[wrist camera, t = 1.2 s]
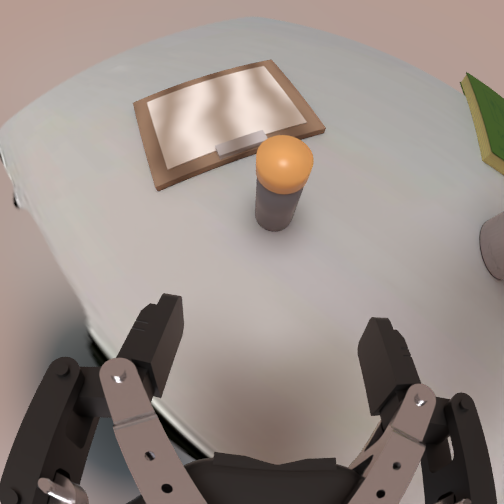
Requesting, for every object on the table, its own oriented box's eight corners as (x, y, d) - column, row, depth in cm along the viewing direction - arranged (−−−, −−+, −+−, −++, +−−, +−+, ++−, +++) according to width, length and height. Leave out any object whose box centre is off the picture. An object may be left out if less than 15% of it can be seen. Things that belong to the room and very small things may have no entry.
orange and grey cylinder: (282, 191, 31) (297, 129, 20) (299, 223, 30) (323, 171, 19) (248, 204, 31) (247, 144, 20) (263, 238, 30) (271, 189, 19)
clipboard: (271, 64, 37) (271, 55, 35) (324, 132, 33) (327, 124, 32) (135, 107, 35) (131, 99, 33) (158, 191, 31) (153, 184, 29)
